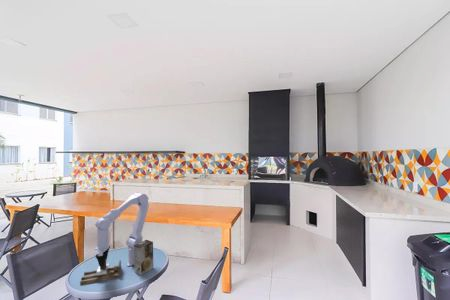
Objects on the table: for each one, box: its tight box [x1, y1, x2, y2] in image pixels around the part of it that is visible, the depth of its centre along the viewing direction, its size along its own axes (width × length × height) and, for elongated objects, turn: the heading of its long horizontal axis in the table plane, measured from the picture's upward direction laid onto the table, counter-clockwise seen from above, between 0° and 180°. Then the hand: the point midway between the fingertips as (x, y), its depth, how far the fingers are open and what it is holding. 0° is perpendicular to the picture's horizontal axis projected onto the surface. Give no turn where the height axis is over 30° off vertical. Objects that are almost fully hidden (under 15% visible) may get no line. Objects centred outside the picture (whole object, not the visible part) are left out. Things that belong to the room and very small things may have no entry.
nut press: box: [79, 259, 122, 286], centre depth 122 cm, size 19×10×6 cm, turn 110°
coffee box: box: [134, 239, 154, 276], centre depth 128 cm, size 9×6×16 cm
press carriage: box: [96, 259, 110, 276], centre depth 122 cm, size 5×8×6 cm, turn 20°
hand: (103, 263), depth 123 cm, fingers open, 7 cm apart
